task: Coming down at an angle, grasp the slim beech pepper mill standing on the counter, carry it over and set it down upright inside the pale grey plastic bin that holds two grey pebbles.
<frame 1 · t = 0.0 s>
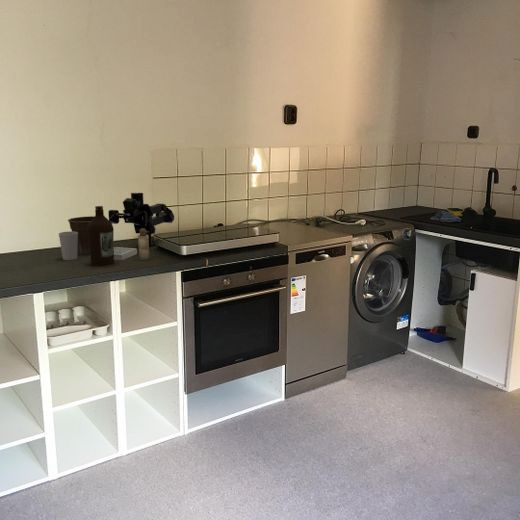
hand: (118, 220, 262), 17 cm above the worktop, tool horizontal, fingers open, 9 cm apart
olive oil: (102, 265, 249), on the worktop
plant pot: (88, 253, 273), on the worktop
cup: (70, 260, 259), on the worktop
pebble b: (118, 258, 259), point 1 cm above the worktop, touching bin
bin: (118, 257, 263), on the worktop
pebble a: (108, 257, 260), point 1 cm above the worktop, touching bin
pepper mill: (144, 260, 258), on the worktop
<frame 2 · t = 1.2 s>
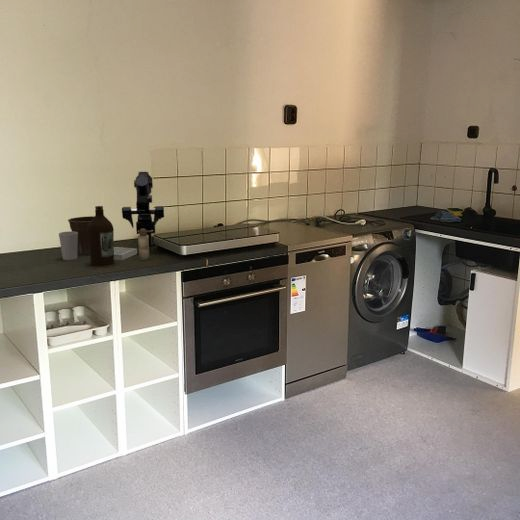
hand: (143, 227, 262), 13 cm above the worktop, tool tilted 45°, fingers open, 9 cm apart
nothing on the worktop moved.
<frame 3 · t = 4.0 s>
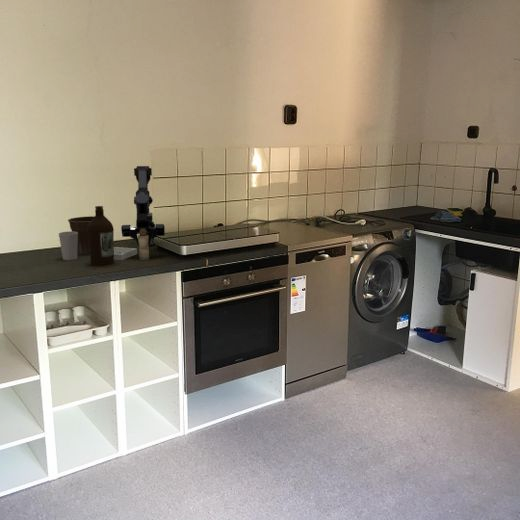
hand: (143, 246, 255), 7 cm above the worktop, tool tilted 45°, fingers closed on pepper mill, 4 cm apart
pepper mill: (144, 260, 258), on the worktop, touching gripper
everything else where it was.
when the fingers open (9 cm above the worktop, at t = 7.1 s): pepper mill drops 1 cm, resting on bin.
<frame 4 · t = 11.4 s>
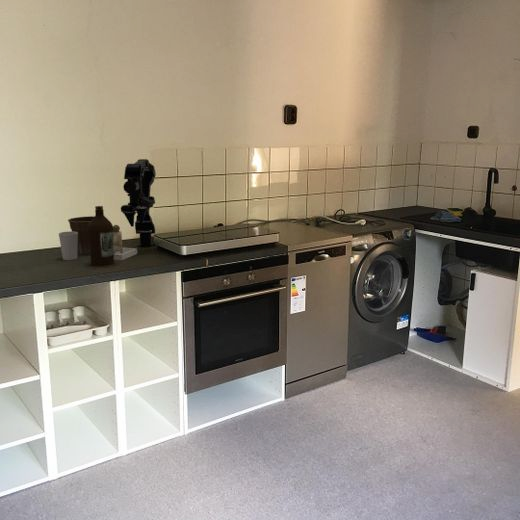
hand: (137, 225, 271), 13 cm above the worktop, tool pointing down, fingers open, 9 cm apart
pepper mill: (117, 255, 263), point 1 cm above the worktop, touching bin
everything else where it was.
at the end: pepper mill inside the target area on the bin (0.0 cm from its centre), point 0.6 cm above the bin's base; pepper mill tilted 1°; the gripper is holding nothing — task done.
